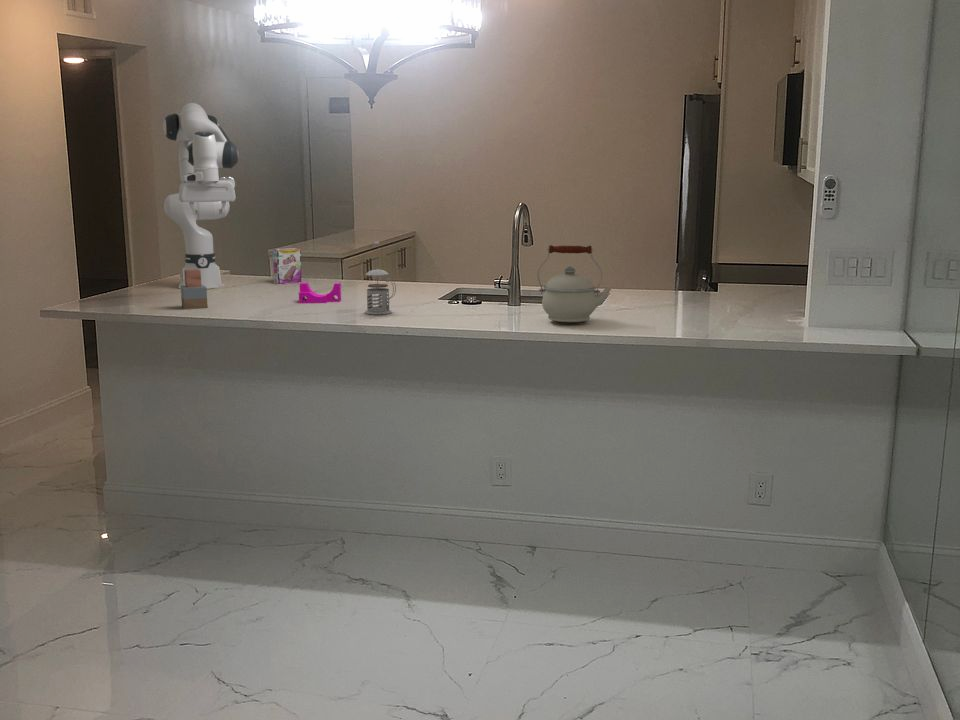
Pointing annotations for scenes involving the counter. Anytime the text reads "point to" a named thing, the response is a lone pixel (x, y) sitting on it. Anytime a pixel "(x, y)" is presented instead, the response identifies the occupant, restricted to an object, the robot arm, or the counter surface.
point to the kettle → (571, 291)
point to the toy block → (317, 298)
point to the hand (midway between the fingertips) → (208, 214)
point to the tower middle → (193, 292)
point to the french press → (378, 290)
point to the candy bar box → (287, 265)
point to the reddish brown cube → (193, 278)
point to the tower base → (194, 303)
